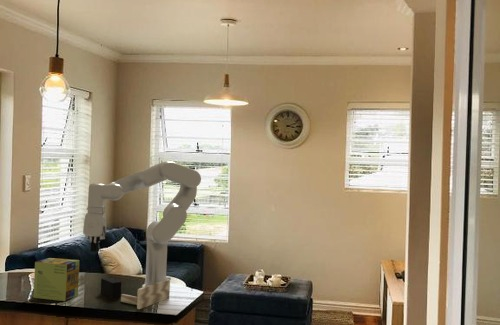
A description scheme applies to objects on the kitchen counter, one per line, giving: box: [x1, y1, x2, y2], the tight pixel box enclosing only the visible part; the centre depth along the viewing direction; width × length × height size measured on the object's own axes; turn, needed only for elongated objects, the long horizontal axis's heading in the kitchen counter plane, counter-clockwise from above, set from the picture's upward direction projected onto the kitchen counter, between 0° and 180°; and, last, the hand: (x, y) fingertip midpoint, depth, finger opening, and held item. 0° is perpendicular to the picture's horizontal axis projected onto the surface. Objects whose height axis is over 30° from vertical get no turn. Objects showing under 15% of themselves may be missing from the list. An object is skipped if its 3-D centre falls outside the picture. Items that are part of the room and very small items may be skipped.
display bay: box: [120, 279, 171, 310], centre depth 220 cm, size 21×13×8 cm, turn 154°
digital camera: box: [100, 277, 122, 300], centre depth 227 cm, size 10×5×7 cm, turn 44°
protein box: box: [32, 257, 80, 302], centre depth 222 cm, size 10×15×16 cm
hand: (94, 251), depth 232 cm, fingers closed
